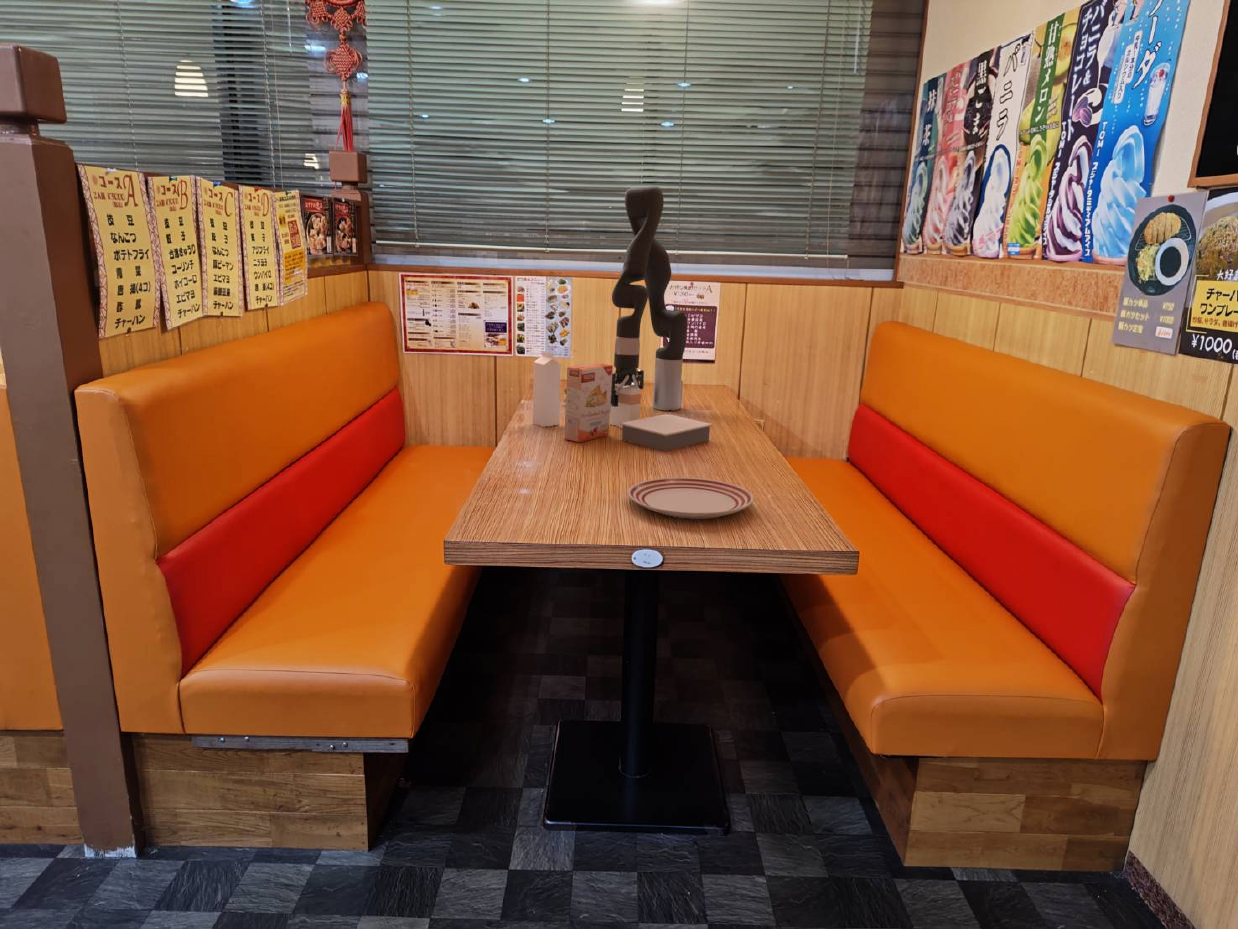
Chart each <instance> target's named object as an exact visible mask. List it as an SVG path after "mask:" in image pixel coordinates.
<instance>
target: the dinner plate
mask: <svg viewBox="0 0 1238 929" xmlns="http://www.w3.org/2000/svg"><path fill="white" fill-rule="evenodd" d="M627 495H628V497H629V499H631V500H632V501H633V502H635V503H636V504H638V505H639V506H641V507H643V508H646V509H648V510H650V511H653V512H656V513H658V512H659V513H658V514H661V513H662V514H661V515H664V514H665V516H667V515H669V516H668V517H671V516H673V517H672V518H676V517H678V518H677V519H684V518H689V519H688V520H707V519H708V520H709V519H715V518H719V517H723V516H727V515H732V514H735V513H738V512H741V511H742V510H745V509H747V508H748V507H750V506H751V505H752V504H753V502H754V499H755V498H754V495H753V494H752V492H750V491H749V490H747V489H746V488H743V487H741V486H740V485H736V484H733V483H729V482H726V481H720V480H715V479H709V478H700V477H682V476H681V477H680V476H679V477H674V476H673V477H660V478H654V479H648V480H643V481H640V482H638V483H635V484H633V485H632V486H630V487H629V488H628V490H627Z"/></svg>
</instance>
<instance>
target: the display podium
mask: <svg viewBox="0 0 1238 929" xmlns="http://www.w3.org/2000/svg"><path fill="white" fill-rule="evenodd" d="M620 425H623V428H621V430H622V431H621V440H622V441H624V440H625V441H624V442H627V441H631V442H633V443H632V444H635V443H636V444H635V445H640V446H643V447H646V446H647V448H651V449H654V450H658V451H662V452H668V451H671V450H675V449H676V450H678V449H680V448H681V449H682V448H684V446H685V447H689V446H693V445H697V444H702V443H706V442H709V441H710V430H711V429H710V427H712V426H713V423H709V422H705V421H699V420H696V419H691V418H687V417H682V416H678V415H674V414H670V413H665V414H660V415H655V416H650V417H644V418H639V419H638V420H633V421H628V422H623V423H620ZM705 441H706V442H705ZM631 442H630V443H631Z"/></svg>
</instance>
